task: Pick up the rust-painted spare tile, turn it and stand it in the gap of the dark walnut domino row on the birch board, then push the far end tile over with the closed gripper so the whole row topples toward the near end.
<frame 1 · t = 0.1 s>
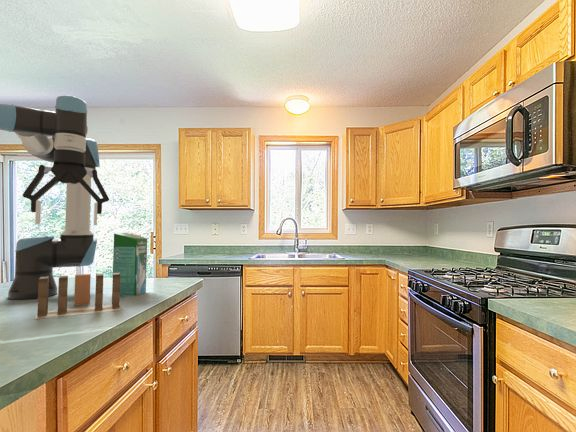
hand: (67, 225, 92), 28 cm above the counter, fingers open, 13 cm apart
rust tile: (81, 307, 109), on the counter
domino 3: (98, 309, 103), point 1 cm above the counter, touching birch board
birch board: (80, 314, 101), on the counter
domino 2: (62, 312, 98), point 1 cm above the counter, touching birch board
milk carton: (129, 296, 128), on the counter
domino 1: (42, 314, 96), point 1 cm above the counter, touching birch board
domino 4: (115, 307, 106), point 1 cm above the counter, touching birch board
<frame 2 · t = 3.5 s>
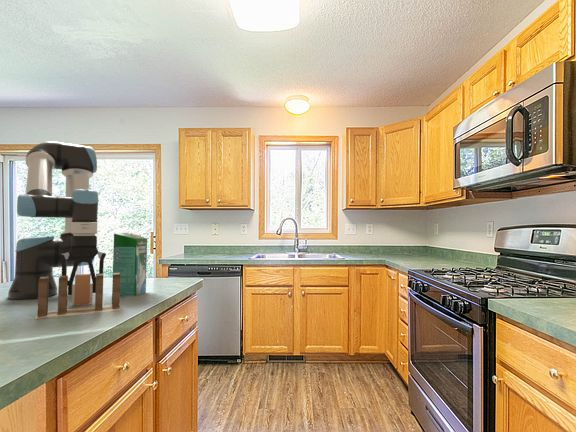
hand: (82, 303, 109), 1 cm above the counter, fingers closed on rust tile, 4 cm apart
rust tile: (81, 307, 109), on the counter, touching gripper
everything else where it was.
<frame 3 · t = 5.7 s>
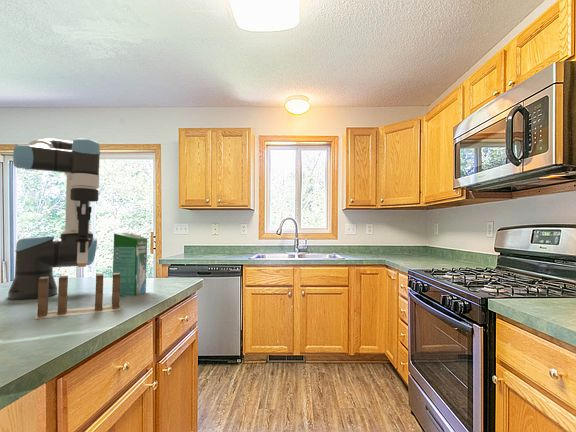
hand: (82, 262, 101), 16 cm above the counter, fingers closed on rust tile, 4 cm apart
rust tile: (82, 266, 101), point 15 cm above the counter, touching gripper
everything else where it was.
when the fingers open (3 cm above the counter, at t = 8.2 s): rust tile stays where it is, resting on birch board.
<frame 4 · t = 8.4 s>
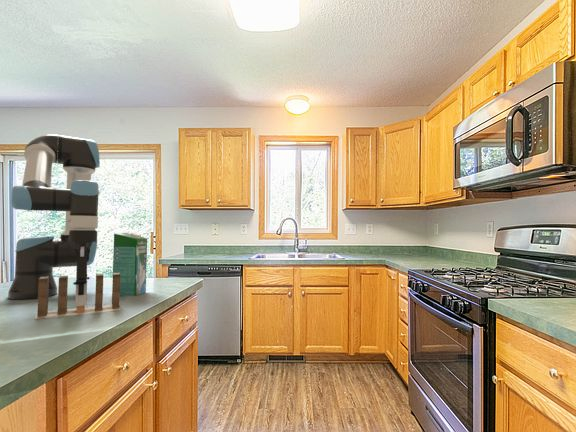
hand: (81, 302, 101), 3 cm above the counter, fingers open, 7 cm apart
rust tile: (80, 310, 101), point 1 cm above the counter, touching birch board
everything else where it was.
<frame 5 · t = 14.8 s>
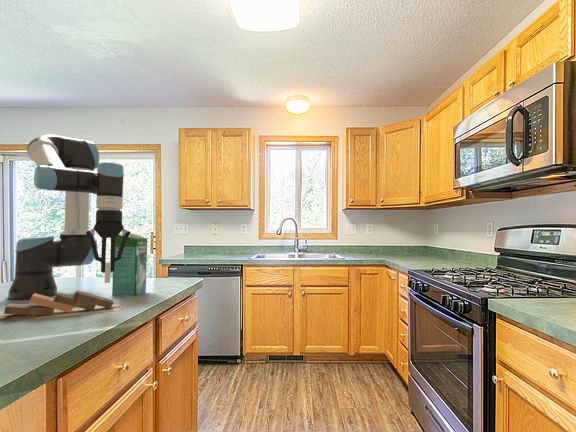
hand: (107, 282, 105), 9 cm above the counter, fingers closed
rust tile: (72, 308, 100), point 2 cm above the counter, tilted 68°
domino 3: (94, 306, 103), point 2 cm above the counter, tilted 68°, touching birch board, domino 4
domino 2: (53, 310, 97), point 2 cm above the counter, tilted 81°, touching domino 1
domino 1: (35, 316, 95), point 1 cm above the counter, tilted 90°, touching domino 2
domino 4: (111, 304, 105), point 2 cm above the counter, tilted 68°, touching domino 3
everything else where it was.
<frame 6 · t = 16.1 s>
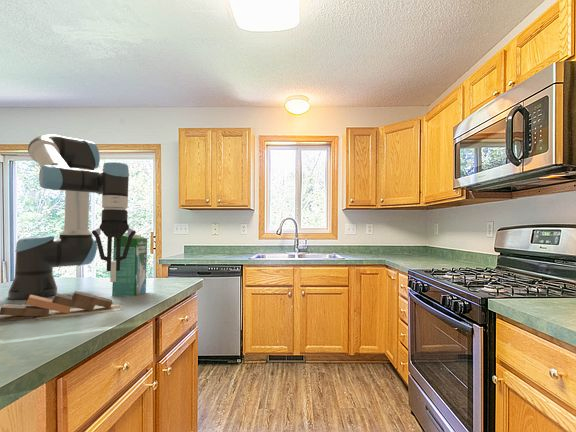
hand: (113, 281, 105), 10 cm above the counter, fingers closed
rust tile: (69, 308, 99), point 2 cm above the counter, tilted 68°, touching domino 2
domino 2: (49, 311, 96), point 2 cm above the counter, tilted 79°, touching rust tile
domino 1: (34, 317, 95), point 1 cm above the counter, tilted 90°
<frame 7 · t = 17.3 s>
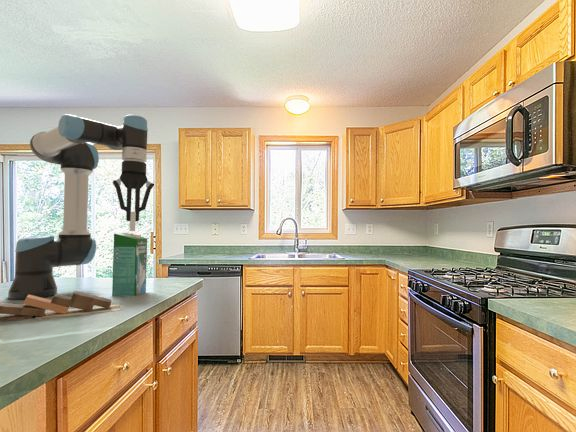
hand: (132, 231, 109), 26 cm above the counter, fingers closed
domino 2: (45, 311, 96), point 2 cm above the counter, tilted 77°, touching domino 1, rust tile
domino 1: (32, 316, 94), point 1 cm above the counter, tilted 90°, touching domino 2
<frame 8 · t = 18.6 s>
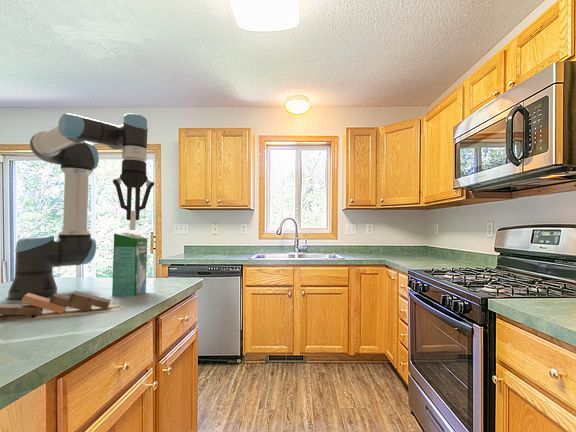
hand: (132, 230, 109), 26 cm above the counter, fingers closed
rust tile: (65, 308, 99), point 2 cm above the counter, tilted 66°, touching domino 2, domino 3
domino 3: (91, 306, 102), point 2 cm above the counter, tilted 70°, touching birch board, domino 4, rust tile
domino 2: (41, 309, 96), point 2 cm above the counter, tilted 83°, touching domino 1, rust tile
at the end: rust tile tilted 63°; domino 1 tilted 90° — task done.
